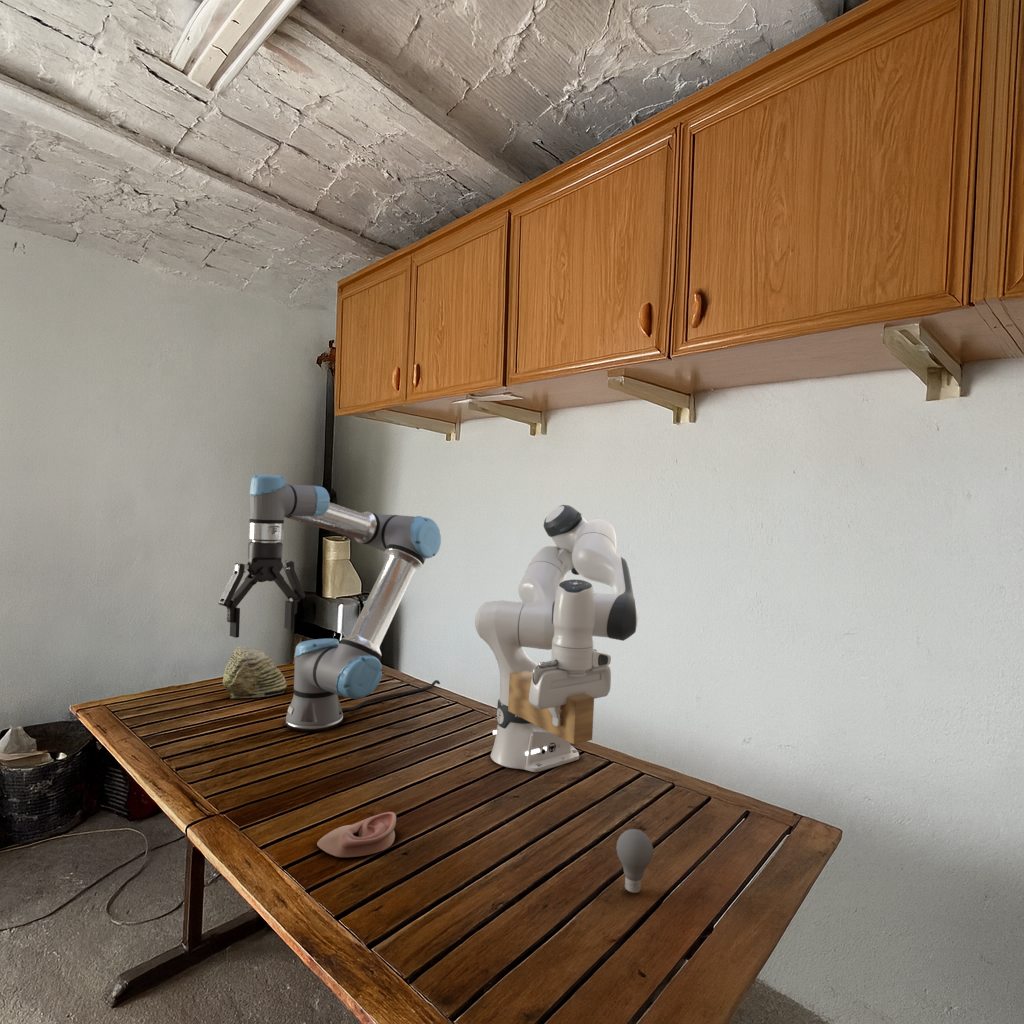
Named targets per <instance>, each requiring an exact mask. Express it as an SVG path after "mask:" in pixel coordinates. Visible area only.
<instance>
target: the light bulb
mask: <svg viewBox="0 0 1024 1024" xmlns="http://www.w3.org/2000/svg"><path fill="white" fill-rule="evenodd" d="M615 849H616V854H617V857H618V859H619V861H620V863H621V865H622V867H623V873H624V874H623V875H624V876H625V878H624V888H625V890H627V891H628V892H630V893H634V894H635V893H639V892H640V891H641V889H642V887H641V886H642V879H643V877H644V875H645V871H646V868H647V867H648V866H649V864H650V863H651V861H652V859H653V855H654V847H653V843H652V841H651V838H649V836H648V835H647V834H646V833H645V832H643V831H642V830H641V829H636V828H629V829H627V830H625V831H623V832H622V833H621V834H620V835H619V837H618V839H617V841H616V847H615Z"/></svg>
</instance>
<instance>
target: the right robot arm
mask: <svg viewBox="0 0 1024 1024" xmlns="http://www.w3.org/2000/svg"><path fill="white" fill-rule="evenodd" d="M543 528H544V531H545V533H546V534H547V537H549V538H551V540H552V541H553V543H554V544H555V545H546V546H543V547H541V548H540V549H539V550H538V551H537V552H536V553H535V554H534V555H533V557H532V559H531V560H530V561H529V562H528V565H527V566H526V569H525V571H524V573H523V574H522V577H521V579H520V581H519V584H518V588H517V589H518V591H517V593H518V596H519V598H520V601H514V600H504V599H500V600H491V601H485V602H484V603H483V604H481V606H480V607H479V608H478V609H477V612H476V614H475V616H474V617H475V619H474V626H475V630H476V633H477V635H478V636H479V637H480V639H482V641H484V642H485V643H486V645H487V646H488V647H489V649H490V650H491V651H492V653H493V655H494V657H495V660H496V662H497V667H498V672H499V699H498V700H497V708H496V723H497V724H496V725H497V727H496V730H492V735H495V736H494V737H495V738H494V743H493V746H492V749H491V752H490V759H491V760H492V761H493V762H494V763H496V764H497V765H500V766H501V767H505V768H510V769H517V770H525V771H528V772H531V773H540V772H542V771H543V772H544V771H546V770H549V769H552V768H556V767H559V766H563V765H565V764H569V763H573V762H575V761H578V760H579V759H580V753H579V751H578V750H577V749H576V748H575V747H574V746H573V745H572V744H571V743H570V742H568V741H566V740H564V739H562V738H560V737H558V736H556V735H554V734H552V733H550V732H548V731H546V730H544V729H542V728H540V727H539V726H537V725H535V724H533V723H531V722H529V721H527V720H525V719H523V718H521V717H519V716H517V715H515V714H513V713H511V712H509V711H508V703H509V681H510V673H514V672H520V671H530V672H532V673H533V674H532V680H531V686H530V692H529V702H530V704H531V705H532V706H534V707H536V708H538V709H546V708H548V709H549V711H550V713H551V715H552V716H553V719H552V723H553V725H554V726H561V725H563V717H561V716H560V715H559V713H558V711H559V710H560V706H561V705H566V703H567V697H571V696H576V695H581V694H587V695H589V696H592V697H594V700H595V699H600V698H605V697H608V695H609V694H610V691H611V684H612V671H611V667H610V665H611V664H612V663H611V662H612V656H611V655H610V654H608V653H605V652H603V651H600V650H597V649H595V643H594V642H595V641H594V637H599V638H607V639H611V640H617V641H626V640H627V639H629V638H631V636H633V635H634V634H635V633H636V631H637V629H638V625H639V610H638V607H637V604H636V599H635V596H634V591H633V584H632V579H631V573H630V569H629V566H628V565H629V564H628V562H627V560H626V559H625V558H623V556H620V555H619V554H618V553H617V548H618V547H617V546H618V543H617V542H618V541H617V540H618V539H617V534H616V530H615V528H614V526H613V525H612V524H611V523H610V522H608V521H607V520H605V519H602V518H595V519H591V520H589V521H587V520H586V518H584V517H583V515H582V513H581V512H580V511H578V510H577V509H576V508H575V507H573V506H571V505H570V504H561V505H559V506H557V507H555V508H554V509H552V510H551V511H550V512H549V513H548V515H547V516H546V517H545V518H544V520H543ZM570 572H571V573H572V575H575V576H580V577H582V578H583V579H586V580H583V579H567V580H566V578H567V575H568V573H570ZM589 581H590V582H589ZM591 582H595V583H599V584H603V585H606V586H609V587H611V588H613V589H614V593H604V592H603V593H601V592H600V593H599V592H595V591H594V585H593V584H592V583H591ZM525 648H528V649H529V648H530V649H536V650H546V651H549V650H551V656H550V657H551V660H547V661H541V662H538V663H537V662H536V661H534V660H533V659H531V658H530V657H529V656H528V654H527V653H526V651H525Z"/></svg>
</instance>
